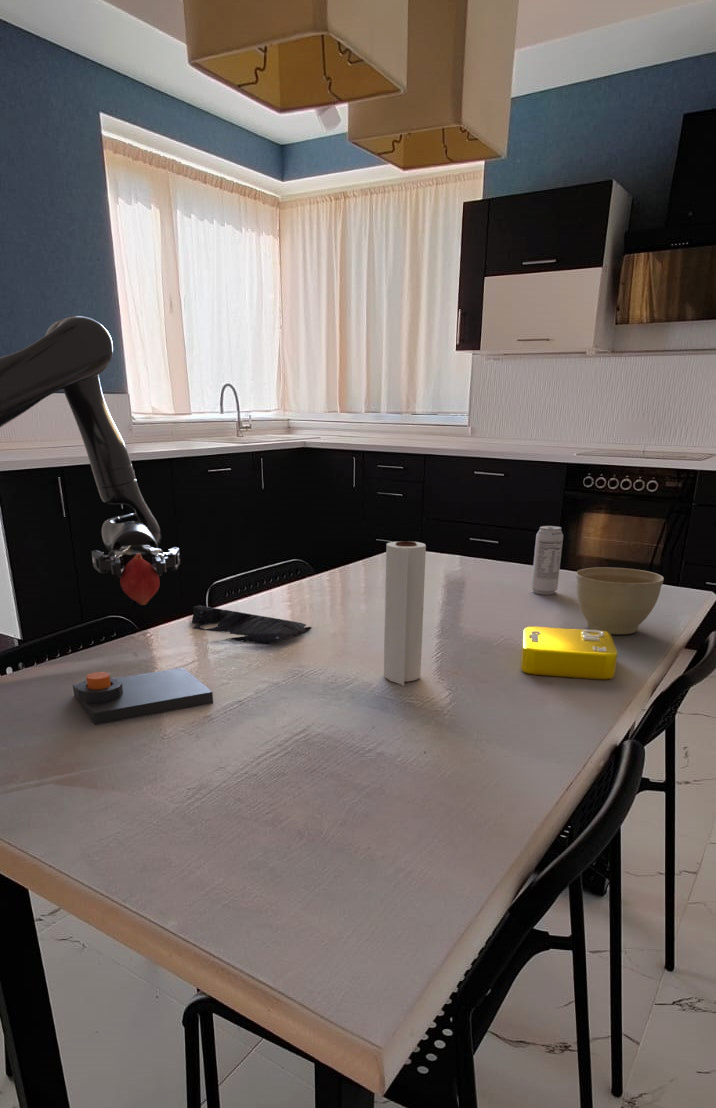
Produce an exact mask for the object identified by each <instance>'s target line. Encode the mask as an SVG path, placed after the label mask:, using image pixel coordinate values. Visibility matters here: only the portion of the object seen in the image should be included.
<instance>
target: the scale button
mask: <svg viewBox="0 0 716 1108" xmlns="http://www.w3.org/2000/svg"><path fill="white" fill-rule="evenodd" d="M110 678H111V675H110V673H108V672H106V671H95V672H91V673H88V674H86V676H85V679H86V680H87V687H88V689H104V688H108V687H110V686H111V682H110ZM86 680H85V681H86Z"/></svg>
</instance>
